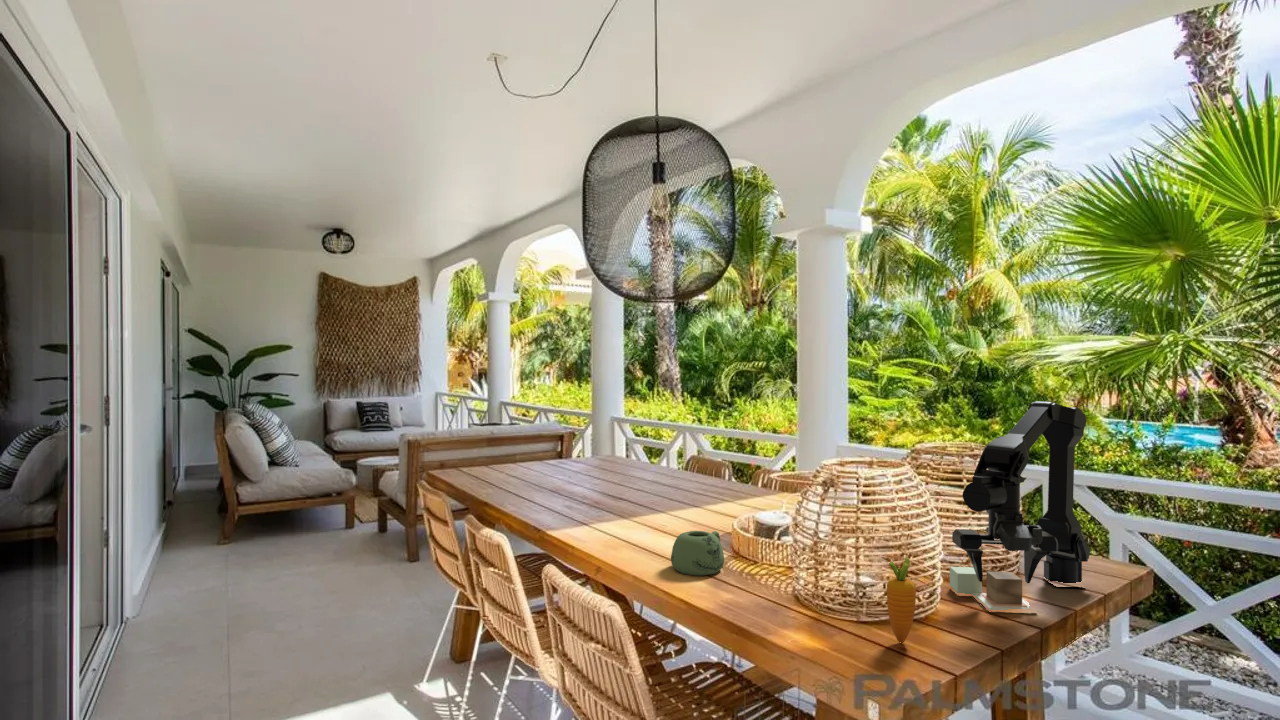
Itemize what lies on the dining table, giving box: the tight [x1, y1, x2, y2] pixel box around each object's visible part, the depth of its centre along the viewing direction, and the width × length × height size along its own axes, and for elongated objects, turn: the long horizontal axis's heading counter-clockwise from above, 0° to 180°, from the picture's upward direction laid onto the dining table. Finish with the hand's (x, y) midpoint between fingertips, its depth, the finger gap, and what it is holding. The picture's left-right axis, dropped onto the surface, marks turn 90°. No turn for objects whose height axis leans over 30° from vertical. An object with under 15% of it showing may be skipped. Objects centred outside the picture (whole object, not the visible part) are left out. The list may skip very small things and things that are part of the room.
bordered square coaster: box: [973, 592, 1030, 610], centre depth 145 cm, size 9×9×1 cm
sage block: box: [949, 566, 983, 594], centre depth 153 cm, size 5×5×5 cm
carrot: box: [886, 557, 917, 644], centre depth 126 cm, size 5×5×15 cm
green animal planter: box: [670, 530, 725, 577], centre depth 172 cm, size 16×13×9 cm
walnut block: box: [985, 570, 1023, 604], centre depth 146 cm, size 5×5×5 cm
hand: (1003, 582), depth 145 cm, fingers open, 9 cm apart
